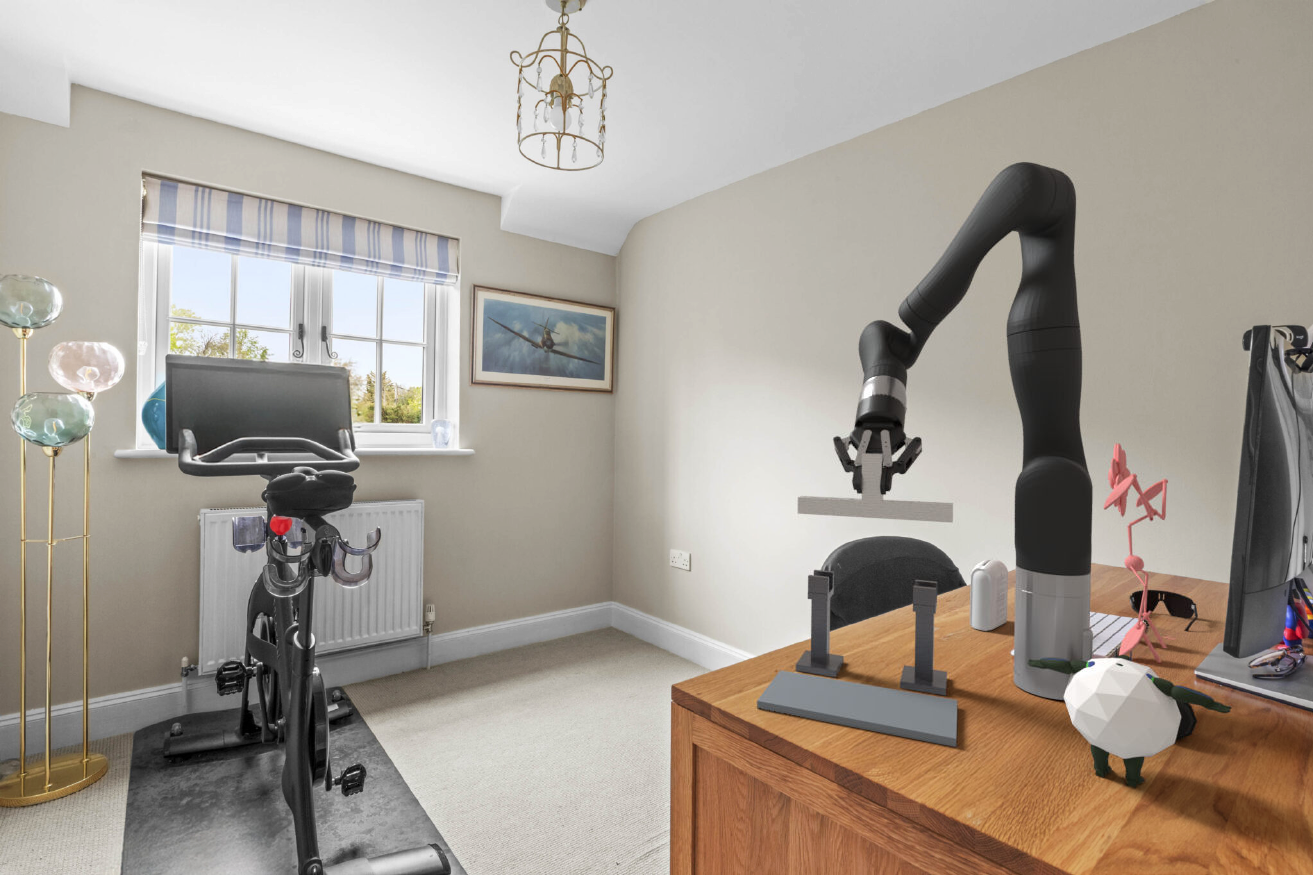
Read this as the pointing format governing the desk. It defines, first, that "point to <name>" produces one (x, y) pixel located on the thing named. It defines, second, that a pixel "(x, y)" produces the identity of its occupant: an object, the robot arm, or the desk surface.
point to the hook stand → (830, 664)
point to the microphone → (1185, 720)
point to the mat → (863, 707)
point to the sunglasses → (1166, 604)
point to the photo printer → (988, 595)
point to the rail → (875, 500)
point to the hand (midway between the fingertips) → (871, 490)
